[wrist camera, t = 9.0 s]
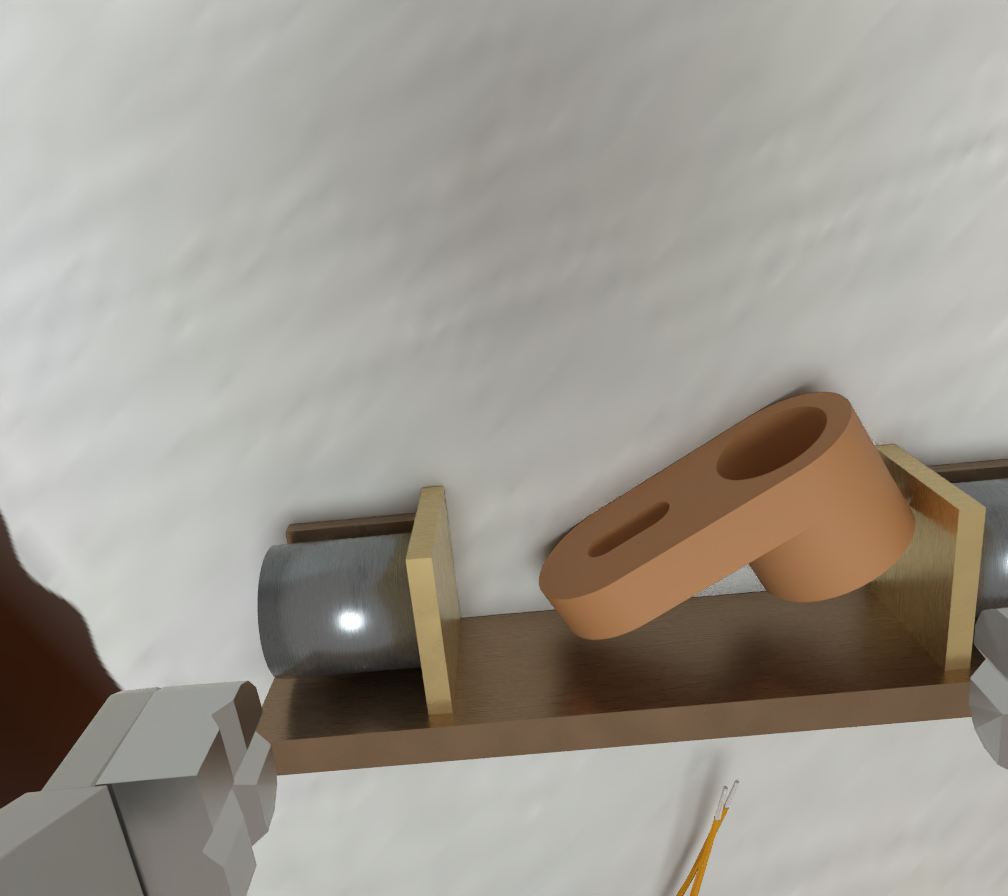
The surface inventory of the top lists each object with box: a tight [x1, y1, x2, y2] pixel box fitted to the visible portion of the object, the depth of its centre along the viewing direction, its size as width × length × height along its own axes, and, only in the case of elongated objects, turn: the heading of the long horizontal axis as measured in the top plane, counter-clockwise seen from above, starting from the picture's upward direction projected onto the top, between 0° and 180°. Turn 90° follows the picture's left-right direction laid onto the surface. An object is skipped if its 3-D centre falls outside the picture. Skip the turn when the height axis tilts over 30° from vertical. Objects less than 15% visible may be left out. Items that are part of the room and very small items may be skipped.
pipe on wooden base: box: [255, 444, 1008, 776], centre depth 43 cm, size 10×44×10 cm, turn 95°
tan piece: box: [539, 392, 915, 640], centre depth 43 cm, size 18×8×7 cm
